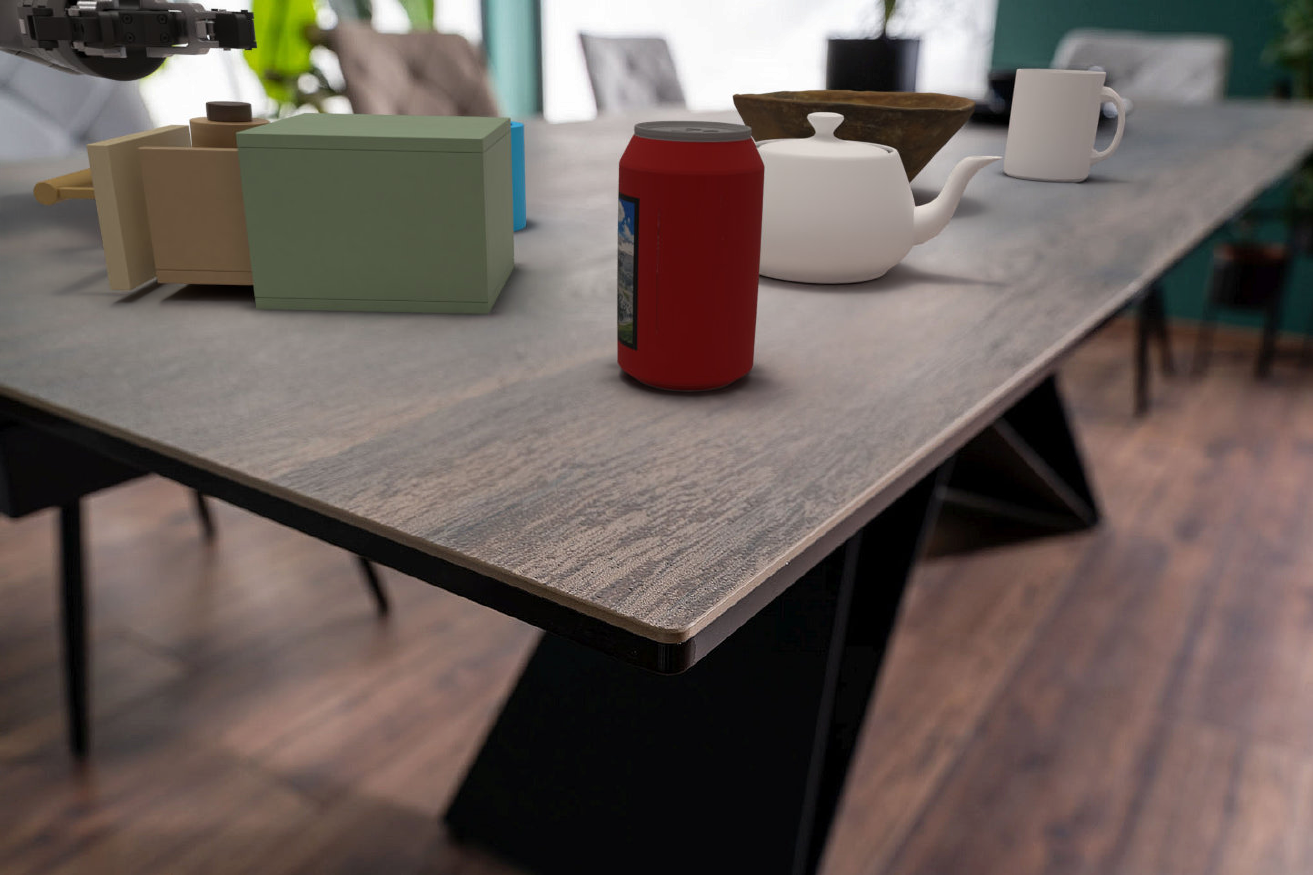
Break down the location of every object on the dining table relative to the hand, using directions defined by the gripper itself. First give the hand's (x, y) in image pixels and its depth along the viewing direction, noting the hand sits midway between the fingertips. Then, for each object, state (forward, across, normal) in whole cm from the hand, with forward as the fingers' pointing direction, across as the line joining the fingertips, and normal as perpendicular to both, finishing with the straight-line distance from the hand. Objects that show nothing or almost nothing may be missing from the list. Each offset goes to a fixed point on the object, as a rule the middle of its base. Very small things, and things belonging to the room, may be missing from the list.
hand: (178, 31), depth 69 cm
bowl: (+9, +59, +15) cm, 61 cm away
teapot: (+28, +33, +15) cm, 46 cm away
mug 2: (+12, +93, +15) cm, 95 cm away
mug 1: (-2, +22, +15) cm, 27 cm away
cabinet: (+14, +6, +15) cm, 22 cm away
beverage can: (+39, +9, +15) cm, 43 cm away
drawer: (+7, -2, +14) cm, 16 cm away
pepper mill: (+7, 0, +13) cm, 15 cm away
